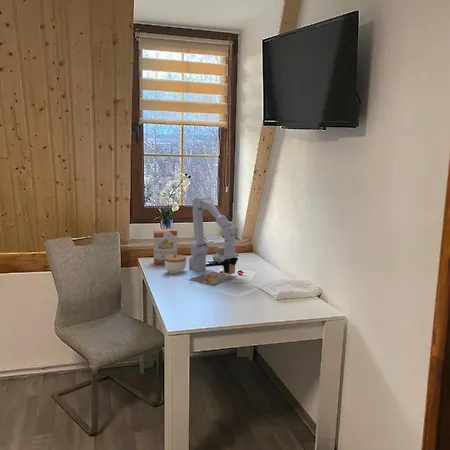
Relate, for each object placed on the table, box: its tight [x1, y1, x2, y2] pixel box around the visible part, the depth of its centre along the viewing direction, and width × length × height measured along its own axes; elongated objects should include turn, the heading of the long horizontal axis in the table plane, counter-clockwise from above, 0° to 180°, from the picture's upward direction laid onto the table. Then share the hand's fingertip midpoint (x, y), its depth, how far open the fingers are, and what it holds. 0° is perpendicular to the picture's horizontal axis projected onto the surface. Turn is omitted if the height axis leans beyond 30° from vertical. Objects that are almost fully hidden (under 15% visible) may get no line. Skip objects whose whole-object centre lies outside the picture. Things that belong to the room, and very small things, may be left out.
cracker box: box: [153, 228, 178, 265], centre depth 296 cm, size 14×6×21 cm, turn 102°
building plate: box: [188, 270, 238, 287], centre depth 264 cm, size 18×22×1 cm
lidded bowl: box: [164, 254, 187, 275], centre depth 276 cm, size 13×13×11 cm
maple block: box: [204, 271, 217, 284], centre depth 257 cm, size 4×4×4 cm
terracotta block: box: [223, 264, 236, 275], centre depth 264 cm, size 4×4×4 cm
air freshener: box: [212, 245, 229, 264], centre depth 300 cm, size 11×8×10 cm
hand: (229, 271), depth 264 cm, fingers closed on terracotta block, 4 cm apart
